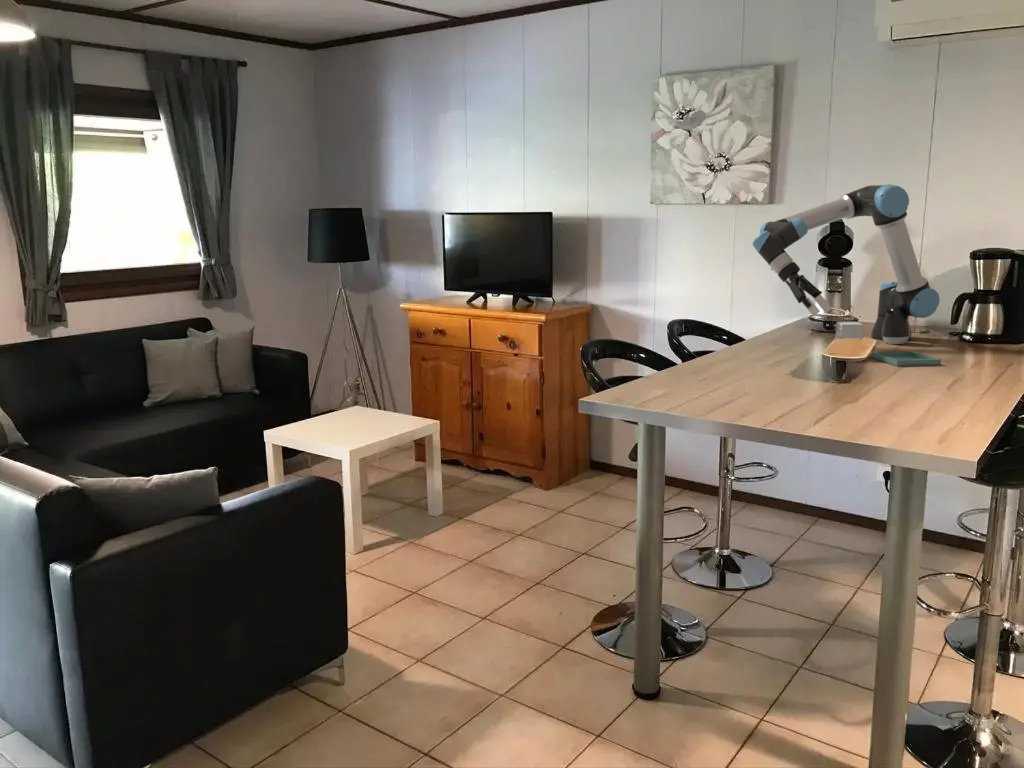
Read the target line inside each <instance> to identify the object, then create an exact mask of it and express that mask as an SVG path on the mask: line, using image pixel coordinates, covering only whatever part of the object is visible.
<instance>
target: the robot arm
mask: <svg viewBox="0 0 1024 768" xmlns="http://www.w3.org/2000/svg"><path fill="white" fill-rule="evenodd" d="M909 205H910V198H909V195H908V192H907V191H906V189H904V188H903V187H902V186H899V185H895V184H884V185H883V184H876V185H875V184H873V185H867V186H866V185H865V186H864V187H861V188H858V189H856V190H854V191H850V192H847V193H845V194H843V195H841V196H840V197H839V199H835V200H833V201H830V202H827V203H824V204H821V205H819V206H816V207H813V208H810V209H807V210H805V211H801V212H798V213H795V214H793V215H790V216H787V217H784V218H781V219H777V220H775V221H772V220H771V221H767V222H765V223H763V224H762V225H761V226H760V228H759V234H758V235H757V236H756V237H754V239H753V241H752V247H754V249H755V251H756V252H757V253H758V254H759V255H760V256H761V258H763V260H764V261H765V262H766V263H767V265H769V268H770V267H771V268H770V269H771V271H774V273H775V274H777V276H778V277H779V279H780V280H781V281H782V282H784V283H785V284H787V286H788V287H789V289H790V291H791V292H792V294H793V296H794V299H796V300H797V303H799V304H800V303H802V304H803V306H804V307H805V308H806V309H807V311H809V312H810V314H811V315H812V317H815V316H816V315H817V314H818V313H820V312H821V310H820V309H819V308H818V307H817V305H818V306H819V307H820V308H821V309H822V311H823V312H824V313H828V312H829V311H831V309H832V308H833V307H832V306H831V305H830V304H829V303H828V302H827V300H826V299H825V298H824V297H823V296H822V294H823V292H822V290H820V289H818V287H816V286H815V285H814V284H813V283H812V282H811V281H810V280H808V279H807V278H806V277H805V275H803V274H800V275H799V272H800V271H801V268H800V266H799V265H798V263H796V262H795V261H794V259H793V258H792V257H791V256H790V255H789V254H788V252H787V251H786V250H787V248H789V247H790V246H792V245H794V244H795V243H797V242H798V241H799V240H802V238H804V237H805V236H806V235H807V234H808V232H809V231H810V230H813V229H816V228H819V227H822V226H825V225H828V224H831V223H834V222H836V221H839V220H842V219H847V220H849V219H854V218H857V217H872V220H873V224H874V226H875V227H877V228H880V230H881V233H882V234H881V235H882V236H883V240H884V243H885V246H886V250H887V252H888V253H887V254H888V255H889V258H890V262H891V265H892V267H893V271H894V275H895V278H896V280H897V281H884V282H882V283H881V284H880V287H879V291H878V293H879V296H878V307H877V316H876V317H877V318H876V320H875V323H874V325H873V327H872V328H871V329H872V330H871V332H870V337H871V338H872V337H874V338H873V339H876V338H877V339H876V340H883V336H882V327H883V323H884V319H885V317H886V314H887V312H886V309H888V310H889V309H890V308H891V307H893V306H900V307H901V308H902V309H903V310H904V312H905V314H906V316H907V319H908V322H909V320H910V319H909V318H910V317H913V318H915V319H926V318H928V317H930V316H932V315H934V313H935V312H936V310H937V309H938V307H939V305H940V295H939V293H938V292H937V291H936V290H935V289H934V288H932V287H931V286H930V284H929V280H928V278H927V277H923V276H922V273H921V269H920V266H919V263H918V260H917V257H916V252H915V250H914V247H913V243H912V241H911V238H910V234H909V231H908V227H907V224H906V221H905V219H906V217H907V216H908V213H907V212H908V211H907V210H908V208H909V207H908V206H909ZM785 249H786V250H785ZM806 293H807V294H808V295H809V296H811V297H812V298H814V299H813V300H814V301H815V302H816V304H817V305H815V303H814V302H813V301H812V300H811V298H810V297H807V295H806ZM909 323H910V322H909ZM909 327H910V336H909V339H910V340H912V330H911V326H910V324H909Z"/></svg>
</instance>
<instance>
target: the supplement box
mask: <svg viewBox="0 0 1024 768" xmlns="http://www.w3.org/2000/svg"><path fill="white" fill-rule="evenodd" d="M863 330H864V324H863V323H861V322H858V321H836V325H835V336H834V337H835V338H834V339H835V340H837V339H844V338H860V339H862V340H863ZM835 340H834V341H835Z"/></svg>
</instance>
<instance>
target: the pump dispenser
mask: <svg viewBox="0 0 1024 768" xmlns="http://www.w3.org/2000/svg"><path fill="white" fill-rule="evenodd" d="M886 312H887V314H886V317H885V319H884V323H883V327H882V336H883V339H882V340H883V342H886V343H885V344H887V343H889V344H888V345H892V344H902V345H904V344H906V343H907V342H908V341H909V340H908V339H909V336H910V329H911V326H910V327H909V325H910V322H908V321H909V319H907V316H906V314H905V312H904V310H903V309H902V308H901V307H900V306H893V307H891V308H890V309H889V310H888V309H886Z"/></svg>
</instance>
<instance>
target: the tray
mask: <svg viewBox="0 0 1024 768" xmlns="http://www.w3.org/2000/svg"><path fill="white" fill-rule="evenodd" d="M871 352H872V353H871ZM871 352H870V358H871V359H873V360H875V361H878V360H879V361H878V362H881V361H882V363H884V362H885V363H884V364H887V363H888V365H890V364H891V366H893V365H894V366H893V367H896V366H900V367H928V365H929V367H932V366H933V365H939V366H941V363H942V362H941V361H942V359H941V358H937V357H934V356H931V355H927V354H923V353H921V352H917V351H913V350H912V351H909V350H907V351H903V350H902V351H871ZM933 367H934V366H933Z"/></svg>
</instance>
